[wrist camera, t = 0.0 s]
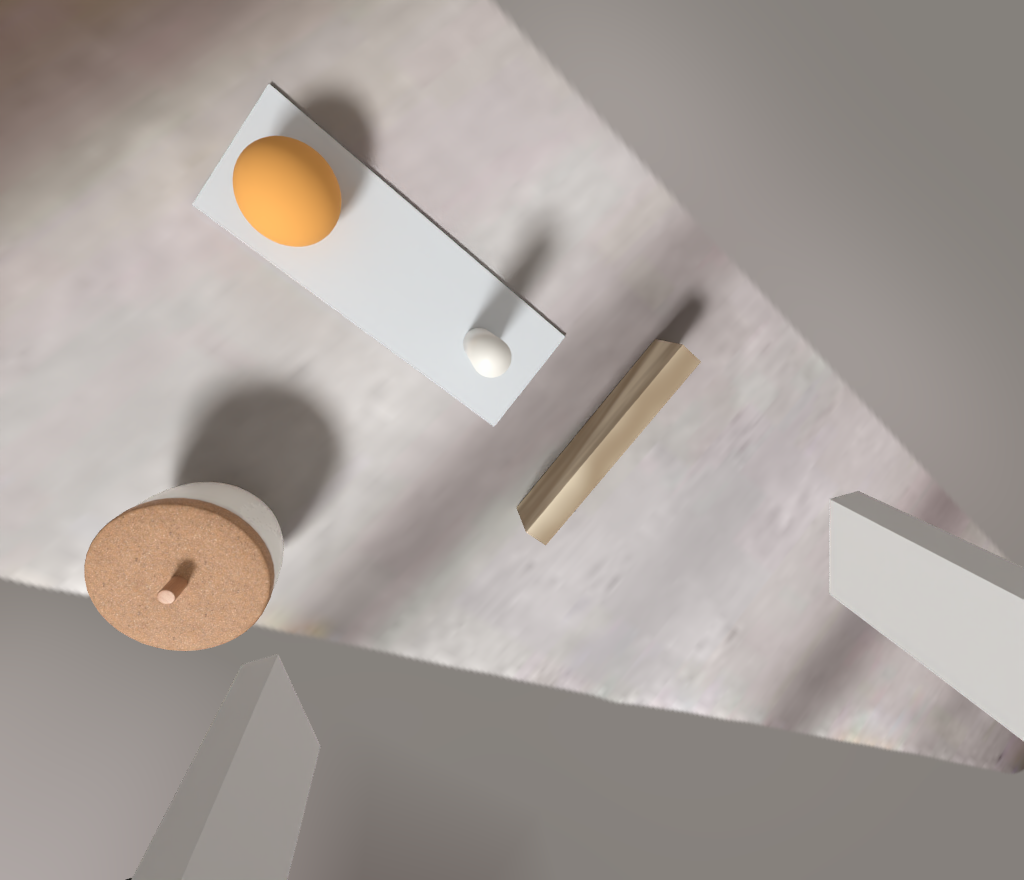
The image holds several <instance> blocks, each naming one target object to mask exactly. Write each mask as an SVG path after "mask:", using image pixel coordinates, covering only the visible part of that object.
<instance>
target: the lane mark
mask: <svg viewBox="0 0 1024 880" xmlns="http://www.w3.org/2000/svg"><path fill="white" fill-rule="evenodd" d="M268 136H285V137H290V138H293V139H297V140H299V141H301V142H304V143H305V144H307V145H309V146H310V147H312V148H313V149H314V150H316V151H317V152H318V153H319V154H320V155H321V156H322V157H323V158H324V159H325V160H326V161H327V163H328V164H329V165H330V167H331V169H332V170H333V172H334V174H335V176H336V178H337V181H338V184H339V187H340V191H341V212H340V216H339V219H338V221H337V224H336V226H335V227H334V229H333V230H332V231H331V233H330V234H329V235H328V236H326V237H325V238H324V239H323V240H321V241H319V242H317V243H315V244H312V245H309V246H303V247H293V246H286V245H282V244H279V243H276V242H274V241H272V240H270V239H268V238H266V237H265V236H263V235H262V234H260V233H259V232H258V231H257V230H256V229H254V228H253V227H252V225H251V224H250V223H249V222H248V221H247V220H246V218H245V217H244V215H243V214H242V212H241V210H240V209H239V206H238V204H237V202H236V199H235V195H234V190H233V171H234V166H235V164H236V161H237V159H238V157H239V155H240V154H241V152H242V151H243V150H244V149H245V148H246V147H247V146H248V145H249V144H251V143H252V142H254V141H256V140H258V139H260V138H264V137H268ZM192 205H193V206H194V207H195V208H197V209H198V210H199V211H201V212H202V213H204V214H205V215H206V216H208V217H209V218H210V219H212V220H213V221H214V222H216V223H217V224H219V225H220V226H221V227H223V228H224V229H225V230H227V231H228V232H229V233H231V234H232V235H234V236H235V237H236V238H238V239H239V240H240V241H242V242H243V243H244V244H246V245H247V246H249V247H250V248H251V249H253V250H254V251H255V252H257V253H258V254H259V255H261V256H262V257H263V258H265V259H266V260H268V261H269V262H270V263H272V264H273V265H274V266H276V267H277V268H278V269H280V270H281V271H283V272H284V273H285V274H287V275H288V276H289V277H291V278H292V279H293V280H295V281H296V282H298V283H299V284H300V285H302V286H303V287H304V288H306V289H307V290H308V291H310V292H311V293H313V294H314V295H315V296H317V297H318V298H319V299H321V300H322V301H323V302H325V303H326V304H327V305H329V306H330V307H332V308H333V309H334V310H336V311H337V312H338V313H340V314H341V315H342V316H344V317H345V318H347V319H348V320H349V321H351V322H352V323H353V324H355V325H356V326H357V327H359V328H360V329H362V330H363V331H364V332H366V333H367V334H368V335H370V336H371V337H372V338H374V339H375V340H376V341H378V342H379V343H381V344H382V345H383V346H385V347H386V348H387V349H389V350H390V351H391V352H393V353H394V354H396V355H397V356H398V357H400V358H401V359H402V360H404V361H405V362H406V363H408V364H409V365H411V366H412V367H413V368H415V369H416V370H417V371H419V372H420V373H421V374H423V375H424V376H426V377H427V378H428V379H430V380H431V381H432V382H434V383H435V384H436V385H438V386H439V387H440V388H442V389H443V390H445V391H446V392H447V393H449V394H450V395H451V396H453V397H454V398H455V399H457V400H458V401H460V402H461V403H462V404H464V405H465V406H466V407H468V408H469V409H470V410H472V411H473V412H475V413H476V414H477V415H479V416H480V417H481V418H483V419H484V420H485V421H487V422H488V423H490V424H491V425H492V426H495V425H496V424H497V422H498V421H499V420H500V419H501V417H502V416H503V415H504V414H505V412H506V411H507V410H508V408H509V407H510V406H511V405H512V403H513V402H514V401H515V400H516V398H517V397H518V396H519V395H520V393H521V392H522V391H523V390H524V388H525V387H526V386H527V384H528V383H529V382H530V381H531V379H532V378H533V377H534V376H535V374H536V373H537V372H538V371H539V369H540V368H541V367H542V365H543V364H544V363H545V362H546V360H547V359H548V358H549V357H550V355H551V354H552V353H553V352H554V350H555V349H556V348H557V347H558V345H559V344H560V343H561V341H562V340H563V339H564V338H565V336H564V335H563V334H561V333H560V332H559V331H558V330H557V329H556V328H554V327H553V326H552V325H551V324H550V323H549V322H547V321H546V320H545V319H544V318H543V317H542V316H540V315H539V314H538V313H537V312H536V311H535V310H533V309H532V308H531V307H530V306H529V305H528V304H526V303H525V302H524V301H523V300H522V299H521V298H519V297H518V296H517V295H516V294H515V293H514V292H512V291H511V290H510V289H509V288H508V287H507V286H505V285H504V284H503V283H502V282H501V281H499V280H498V279H497V278H496V277H495V276H494V275H492V274H491V273H490V272H489V271H488V270H487V269H485V268H484V267H483V266H482V265H481V264H480V263H478V262H477V261H476V260H475V259H474V258H473V257H471V256H470V255H469V254H468V253H467V252H466V251H464V250H463V249H462V248H461V247H460V246H459V245H457V244H456V243H455V242H454V241H453V240H452V239H450V238H449V237H448V236H447V235H446V234H445V233H443V232H442V231H441V230H440V229H439V228H437V227H436V226H435V225H434V224H433V223H432V222H430V221H429V220H428V219H427V218H426V217H425V216H423V215H422V214H421V213H420V212H419V211H418V210H416V209H415V208H414V207H413V206H412V205H411V204H409V203H408V202H407V201H406V200H405V199H404V198H402V197H401V196H400V195H399V194H398V193H397V192H395V191H394V190H393V189H392V188H391V187H390V186H388V185H387V184H386V183H385V182H384V181H383V180H381V179H380V178H379V177H378V176H377V175H376V174H374V173H373V172H372V171H371V170H370V169H368V168H367V167H366V166H365V165H364V164H363V163H361V162H360V161H359V160H358V159H357V158H356V157H354V156H353V155H352V154H351V153H350V152H349V151H347V150H346V149H345V148H344V147H343V146H342V145H340V144H339V143H338V142H337V141H336V140H335V139H333V138H332V137H331V136H330V135H329V134H328V133H326V132H325V131H324V130H323V129H322V128H321V127H319V126H318V125H317V124H316V123H315V122H314V121H312V120H311V119H310V118H309V117H308V116H306V115H305V114H304V113H303V112H302V111H301V110H299V109H298V108H297V107H296V106H295V105H294V104H292V103H291V102H290V101H289V100H288V99H287V98H285V97H284V96H283V95H282V94H281V93H280V92H278V91H277V90H276V89H275V88H274V87H273V86H271V85H270V84H268V86H267V87H266V89H265V90H264V92H263V94H262V95H261V97H260V98H259V100H258V101H257V103H256V105H255V106H254V108H253V109H252V111H251V112H250V114H249V116H248V117H247V119H246V120H245V122H244V124H243V125H242V127H241V128H240V130H239V131H238V133H237V135H236V136H235V138H234V139H233V141H232V142H231V144H230V146H229V147H228V149H227V150H226V152H225V154H224V155H223V157H222V158H221V160H220V161H219V163H218V165H217V166H216V168H215V169H214V171H213V172H212V174H211V176H210V177H209V179H208V180H207V182H206V184H205V185H204V187H203V188H202V190H201V191H200V193H199V195H198V196H197V198H196V199H195V201H194V202H193V204H192ZM474 328H484V329H486V330H488V331H489V332H491V333H492V334H494V335H495V336H497V337H498V338H500V339H501V340H503V341H504V342H505V343H506V344H507V345H508V346H509V348H510V351H511V355H512V359H511V364H510V366H509V368H508V370H507V371H506V372H505V373H504V374H502V375H500V376H498V377H494V378H489V377H485V376H482V375H481V374H479V373H478V372H477V371H476V370H475V368H474V366H473V365H472V363H471V361H470V359H469V357H468V356H467V354H466V352H465V350H464V347H463V340H464V337H465V335H466V334H467V333H468V332H469V331H470V330H471V329H474Z"/></svg>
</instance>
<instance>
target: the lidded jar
mask: <svg viewBox="0 0 1024 880" xmlns="http://www.w3.org/2000/svg"><path fill="white" fill-rule="evenodd" d="M283 551H284V543H283V536H282V532H281V529H280V525H279V523H278V521H277V519H276V517H275V515H274V514H273V512H272V511H271V510H270V508H269V507H268V506H267V505H266V504H265V503H264V502H263V501H261V500H260V499H259V498H258V497H256V496H255V495H253V494H251V493H250V492H248V491H246V490H244V489H242V488H239V487H237V486H233V485H229V484H226V483H218V482H196V483H189V484H184V485H181V486H177V487H174V488H170V489H167V490H165V491H163V492H161V493H158V494H156V495H154V496H152V497H150V498H148V499H146V500H144V501H143V502H141V503H139V504H138V505H136V506H135V507H133V508H131V509H128V510H126V511H125V512H123V513H122V514H120V515H119V516H117V517H116V518H114V519H113V520H111V521H110V522H109V523H108V524H107V525H106V526H105V527H104V528H102V529H101V530H100V531H99V533H98V534H97V535H96V537H95V538H94V540H93V541H92V543H91V545H90V547H89V550H88V552H87V555H86V560H85V581H86V586H87V591H88V593H89V595H90V598H91V599H92V602H93V603H94V605H95V606H96V608H97V610H98V611H99V613H100V614H101V615H102V616H103V617H104V618H105V619H106V620H107V621H108V622H109V623H110V624H111V625H112V626H114V627H115V628H116V629H117V630H119V631H120V632H122V633H123V634H125V635H127V636H129V637H130V638H132V639H134V640H137V641H139V642H141V643H143V644H147V645H150V646H154V647H157V648H162V649H167V650H179V651H189V650H201V649H206V648H211V647H215V646H218V645H221V644H224V643H226V642H229V641H230V640H233V639H235V638H237V637H238V636H240V635H241V634H243V633H244V632H246V631H247V630H248V629H249V628H250V627H251V626H252V625H254V624H255V622H256V621H257V620H258V619H259V617H260V616H261V615H262V613H263V611H264V609H265V608H266V606H267V604H268V602H269V600H270V597H271V594H272V591H273V589H274V586H275V584H276V582H277V580H278V576H279V573H280V570H281V566H282V561H283Z"/></svg>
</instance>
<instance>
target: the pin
mask: <svg viewBox="0 0 1024 880" xmlns="http://www.w3.org/2000/svg"><path fill="white" fill-rule="evenodd" d="M463 347H464V350H465V352H466V354H467V356H468V357H469V359H470V361H471V363H472V365H473V366H474V368H475V370H476V371H477V372H478V373H479V374H481V375H482V376H485V377H489V378H494V377H498V376H500V375H502V374H504V373H505V372H506V371H507V370H508V368H509V366H510V364H511V359H512V355H511V351H510V348H509V346H508V345H507V344H506V343H505V342H504V341H503V340H501V339H500V338H498V337H497V336H495V335H494V334H492V333H491V332H489V331H488V330H486V329H484V328H474V329H471V330H470V331H469V332H468V333H467V334H466V335H465V337H464V340H463Z"/></svg>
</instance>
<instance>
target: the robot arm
mask: <svg viewBox="0 0 1024 880" xmlns="http://www.w3.org/2000/svg"><path fill="white" fill-rule="evenodd" d="M829 594H830V595H831V596H833V597H834V598H835V599H837V600H838V601H839V602H841V603H842V604H843V605H845V606H846V607H847V608H849V609H850V610H851V611H853V612H854V613H855V614H856V615H858V616H859V617H860V618H862V619H863V620H864V621H866V622H867V623H868V624H870V625H871V626H872V627H874V628H875V629H876V630H878V631H879V632H880V633H882V634H883V635H884V636H886V637H887V638H888V639H889V640H891V641H892V642H893V643H895V644H896V645H897V646H899V647H900V648H901V649H903V650H904V651H905V652H907V653H908V654H909V655H911V656H912V657H913V658H915V659H916V660H917V661H919V662H920V663H921V664H922V665H924V666H925V667H926V668H928V669H929V670H930V671H932V672H933V673H934V674H936V675H937V676H938V677H940V678H941V679H942V680H944V681H945V682H946V683H948V684H949V685H950V686H952V687H953V688H954V689H956V690H957V691H958V692H959V693H961V694H962V695H963V696H965V697H966V698H967V699H969V700H970V701H971V702H973V703H974V704H975V705H977V706H978V707H979V708H981V709H982V710H983V711H985V712H986V713H987V714H989V715H990V716H991V717H992V718H994V719H995V720H996V721H998V722H999V723H1000V724H1002V725H1003V726H1004V727H1006V728H1007V729H1008V730H1010V731H1011V732H1012V733H1014V734H1015V735H1016V736H1018V737H1019V738H1020V739H1022V740H1023V741H1024V568H1023V567H1021V566H1019V565H1017V564H1015V563H1013V562H1010V561H1008V560H1006V559H1004V558H1002V557H1000V556H998V555H995V554H993V553H991V552H989V551H987V550H985V549H982V548H980V547H978V546H976V545H974V544H972V543H969V542H967V541H965V540H963V539H961V538H959V537H957V536H954V535H952V534H950V533H948V532H946V531H944V530H941V529H939V528H937V527H935V526H933V525H931V524H929V523H926V522H924V521H922V520H920V519H918V518H916V517H913V516H911V515H909V514H907V513H905V512H903V511H901V510H898V509H896V508H894V507H892V506H890V505H888V504H885V503H883V502H881V501H879V500H877V499H875V498H872V497H870V496H868V495H866V494H864V493H862V492H860V491H857V492H853V493H850V494H846V495H842V496H839V497H835V498H832V499H830V535H829ZM319 750H320V744H319V742H318V740H317V738H316V736H315V733H314V731H313V729H312V727H311V725H310V723H309V721H308V718H307V716H306V714H305V712H304V710H303V707H302V705H301V703H300V701H299V699H298V696H297V694H296V692H295V690H294V688H293V686H292V683H291V681H290V679H289V677H288V675H287V673H286V671H285V668H284V666H283V664H282V662H281V660H280V657H279V655H278V654H277V655H273V656H269V657H266V658H262V659H259V660H255V661H252V662H248V663H245V664H242V666H241V667H240V669H239V672H238V673H237V675H236V677H235V679H234V681H233V683H232V685H231V687H230V689H229V691H228V693H227V695H226V697H225V699H224V701H223V702H222V705H221V706H220V708H219V710H218V712H217V714H216V716H215V718H214V720H213V722H212V724H211V726H210V728H209V730H208V732H207V734H206V736H205V738H204V739H203V741H202V744H201V745H200V747H199V749H198V751H197V753H196V755H195V757H194V759H193V761H192V763H191V765H190V767H189V769H188V771H187V773H186V775H185V777H184V778H183V780H182V782H181V784H180V786H179V788H178V790H177V792H176V794H175V796H174V798H173V800H172V802H171V804H170V806H169V808H168V810H167V812H166V814H165V815H164V818H163V819H162V821H161V823H160V825H159V827H158V829H157V831H156V833H155V835H154V837H153V839H152V841H151V843H150V845H149V847H148V849H147V850H146V853H145V855H144V856H143V858H142V860H141V862H140V864H139V866H138V868H137V870H136V872H135V874H134V876H133V878H130V879H126V880H287V879H288V875H289V871H290V867H291V863H292V859H293V855H294V851H295V847H296V843H297V839H298V835H299V831H300V827H301V823H302V819H303V814H304V811H305V807H306V802H307V798H308V795H309V791H310V786H311V782H312V778H313V774H314V770H315V766H316V762H317V758H318V754H319Z"/></svg>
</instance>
